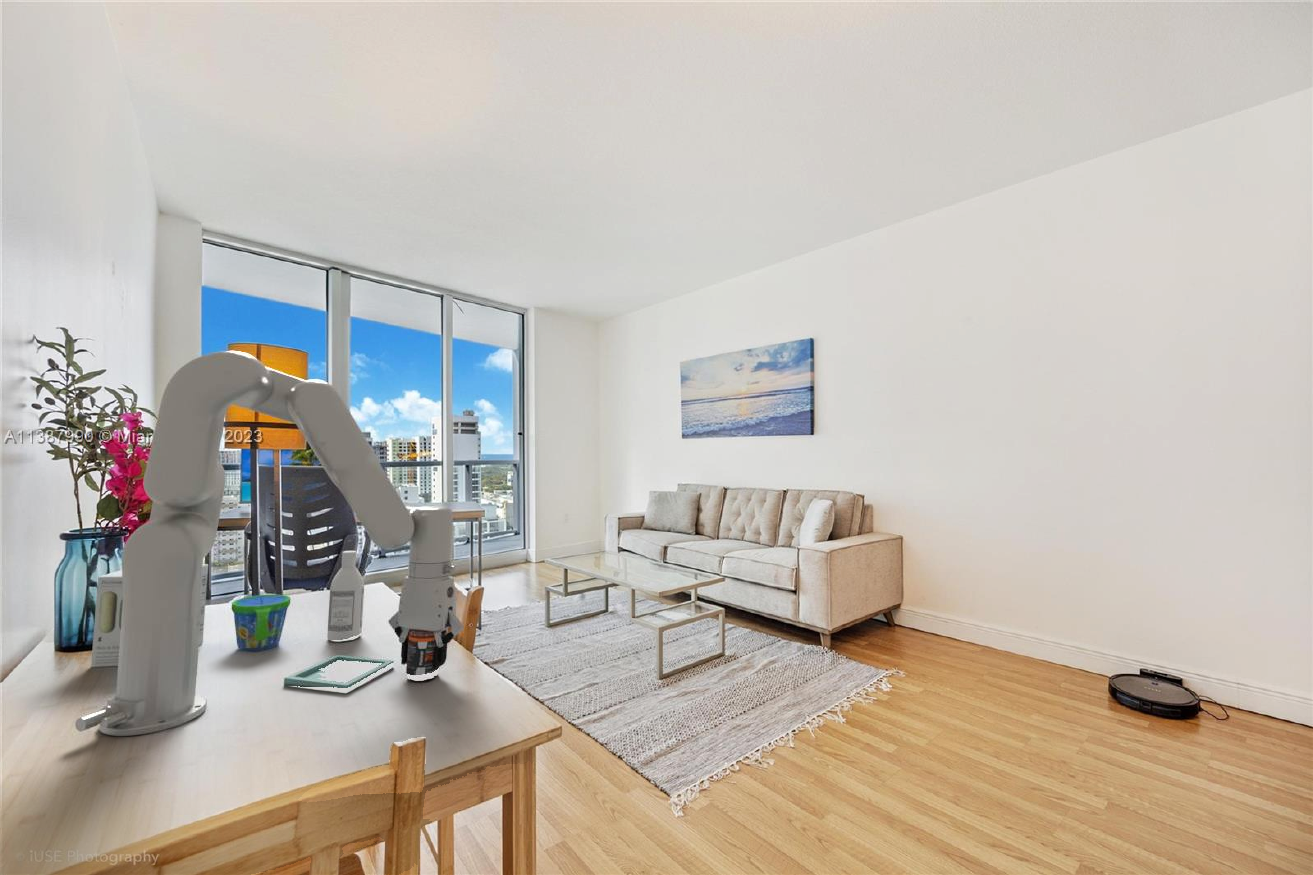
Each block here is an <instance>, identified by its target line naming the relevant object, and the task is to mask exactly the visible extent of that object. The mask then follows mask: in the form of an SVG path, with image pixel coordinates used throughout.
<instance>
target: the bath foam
mask: <svg viewBox="0 0 1313 875" xmlns="http://www.w3.org/2000/svg"><path fill="white" fill-rule="evenodd" d="M356 564H357V551H356V550H344V551H342V552H341V568H340V569H338V571H337V573H336V574H335V575H334V577H333V579H332V581H331V583H330V588H329V602H328V618H327V619H328V620H327V638H328V639H329V640H343V639H348V638H350V637H353V636H357V635H359V634H360V633H361V634H362V629H363V617H364V615H363V611H364V595H365V594H364V593H365V581H364V578H363V576H362V573H360V571H359V569H358V568H357V566H356ZM328 639H327V640H328ZM329 640H328V641H329Z"/></svg>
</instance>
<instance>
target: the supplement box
mask: <svg viewBox="0 0 1313 875" xmlns="http://www.w3.org/2000/svg"><path fill="white" fill-rule="evenodd" d="M208 572H209V564H207V563H203V565H202V603H201V621H200V635H199V646H201V645H202V644H203V643H204V627H205V616H206V615H205V614H206V613H205V611H206V601H207V600H206V598H207V585H208V574H209V573H208ZM96 588H97V589H96V590H97V591H96V601H95V611H94V612H95V613H94V624H93V625H94V627H93V637H92V651H91V661H90V662H91V664H90V667H91V668H102V667H118V661H119V648H120V636H121V619H122V605H123V579H122V569H119V570H117V571H113V572H110V573H107V574H103V575H100V576H98V577H97V587H96Z"/></svg>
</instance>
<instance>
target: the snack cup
mask: <svg viewBox="0 0 1313 875" xmlns="http://www.w3.org/2000/svg"><path fill="white" fill-rule="evenodd" d="M290 605H291V597H290V596H289V595H285V594H259V595H252V596H246V597H241V598H238V599H236V600H234V601H233V602H232V603H231V611H232V612H233V619H234V620H233V621H234V629H235V639H236V640H235V641H236V645H237V648H238V649H240V651H241V652H245V651H246V652H258V651H263V650H267V649H268V650H269V649H271V648H274V647H275V646H278V645H279V643H280V641H281V637H282V633H283V629H284V625H285V621H286V618H287V617H286V616H287V611H288V608H289V607H290Z"/></svg>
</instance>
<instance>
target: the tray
mask: <svg viewBox="0 0 1313 875" xmlns="http://www.w3.org/2000/svg"><path fill="white" fill-rule="evenodd" d="M337 660H342V661H344V660H346V661H359V662H360V661H361V662H370V663H371V662H372V663H382V664H381V665H379V666H378V667H376V668H374V669H372V670H370V671H368V672H366V673H364V674H362V675H360V676H358V677H356V678H354V679H352V680H350V681H348V682H346V683H344V682H336V681H327V680H321V679H318V678H326V677H325V676H324V677H322V676H321V675H320V674H318V673H325V671H324V672H323V671H321V670H319V669H321V668H325V667H326V666H328V665H329V664H332V663H333V662H336V661H337ZM393 662H394V663H395V660H391V659H379V658H371V657H363V656H362V657H361V656H353V655H343V654H336V655H334V656H331V657H329V658H326V659H324V660H322V661H320V662H318V663H316V664H313V665H310V666H308V667H306V668H303V669H302V670H301V669H300V670H299V671H297V672H294V673H293V674H291V675H290V674H289V675H287V676H286V677H284V678H283V687H285V686H297V687H298V686H300V687H333V688H334V687H337V688H348V687H351V686H352V685H354V684H356V683H357V682H360V681H361V680H363V679H364V678H367V677H368V676H370V675H371V674H373V673H376V672H377V671H378V670H380V669H382V668H385V667H386V666H387V665H389V664H391V663H393ZM317 674H318V675H317Z"/></svg>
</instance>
